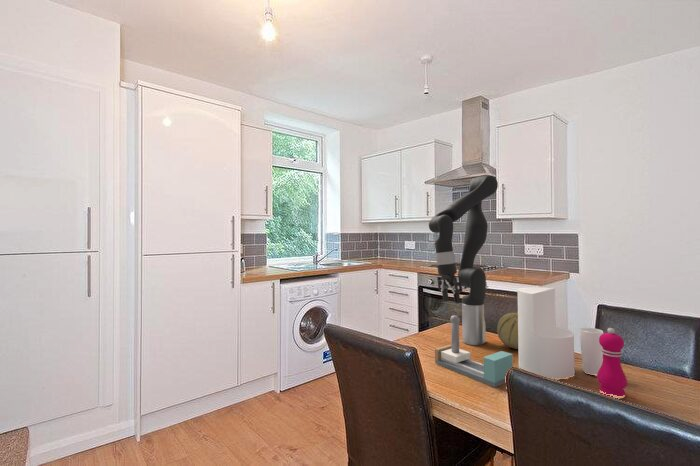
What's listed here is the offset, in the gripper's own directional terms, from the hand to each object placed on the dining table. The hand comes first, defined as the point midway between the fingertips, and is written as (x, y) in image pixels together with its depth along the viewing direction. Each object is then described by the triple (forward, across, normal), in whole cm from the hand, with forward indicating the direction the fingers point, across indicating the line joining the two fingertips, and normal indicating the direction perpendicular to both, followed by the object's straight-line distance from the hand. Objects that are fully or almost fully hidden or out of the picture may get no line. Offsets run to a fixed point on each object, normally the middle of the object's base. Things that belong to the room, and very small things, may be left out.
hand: (451, 301), depth 143 cm
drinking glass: (+26, -33, -30) cm, 52 cm away
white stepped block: (+25, -25, -18) cm, 40 cm away
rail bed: (+22, -18, +7) cm, 29 cm away
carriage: (+18, -11, +9) cm, 23 cm away
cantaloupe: (+23, -3, -25) cm, 34 cm away
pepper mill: (+27, -46, -22) cm, 58 cm away
